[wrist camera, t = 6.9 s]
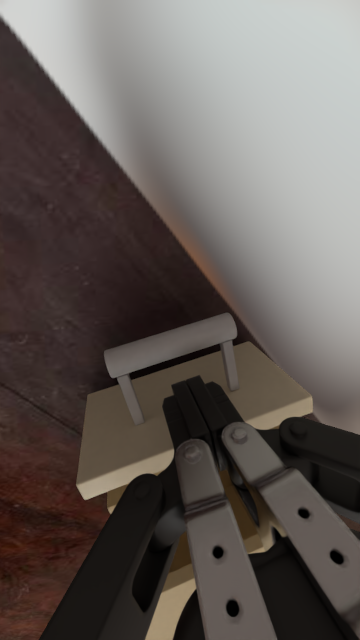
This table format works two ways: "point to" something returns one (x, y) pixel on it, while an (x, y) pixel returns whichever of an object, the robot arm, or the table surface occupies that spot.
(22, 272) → the table surface
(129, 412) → the drawer
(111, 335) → the table surface
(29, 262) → the table surface
